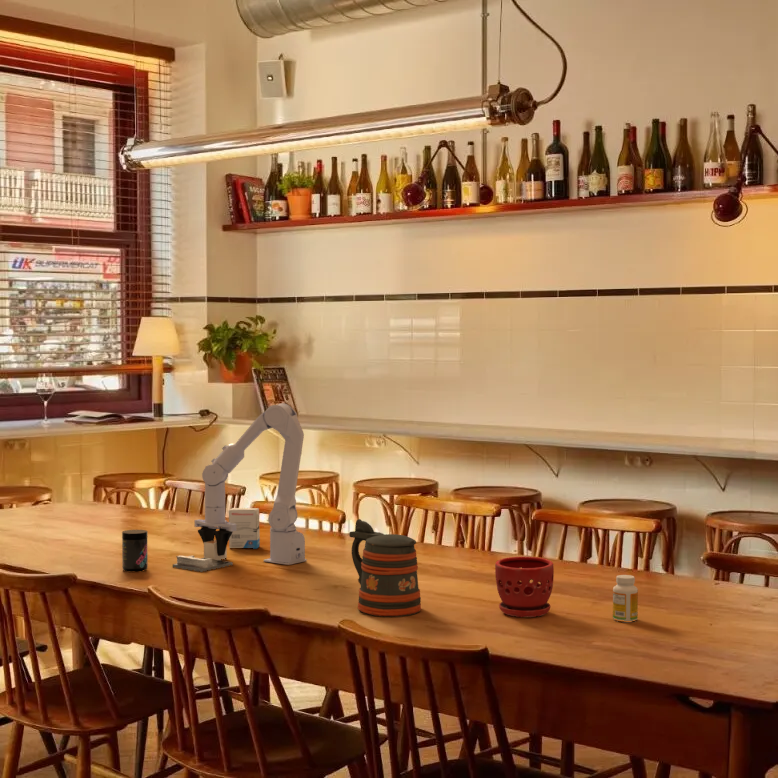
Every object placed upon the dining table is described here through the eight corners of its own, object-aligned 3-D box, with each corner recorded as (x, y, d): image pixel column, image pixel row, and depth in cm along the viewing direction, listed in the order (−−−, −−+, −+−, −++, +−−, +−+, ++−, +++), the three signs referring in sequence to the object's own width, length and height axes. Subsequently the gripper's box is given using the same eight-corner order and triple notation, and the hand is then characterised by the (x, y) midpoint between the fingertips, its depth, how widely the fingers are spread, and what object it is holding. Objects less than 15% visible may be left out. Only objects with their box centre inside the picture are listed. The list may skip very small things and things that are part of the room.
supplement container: (133, 573, 312) (132, 534, 312) (116, 570, 317) (116, 531, 316) (153, 569, 318) (152, 531, 317) (136, 566, 322) (136, 528, 322)
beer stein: (329, 609, 271) (329, 522, 270) (368, 598, 283) (368, 515, 282) (395, 620, 260) (396, 530, 259) (433, 608, 272) (433, 522, 271)
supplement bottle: (634, 617, 263) (634, 574, 263) (640, 622, 258) (640, 578, 258) (610, 617, 263) (610, 574, 263) (615, 622, 258) (616, 578, 258)
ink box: (260, 546, 354) (260, 507, 354) (256, 549, 349) (256, 509, 349) (232, 546, 355) (232, 507, 354) (228, 548, 350) (228, 509, 350)
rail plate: (232, 565, 324) (232, 554, 324) (201, 571, 314) (201, 561, 314) (203, 560, 331) (203, 550, 330) (172, 567, 321) (172, 556, 321)
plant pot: (490, 607, 273) (491, 556, 272) (546, 607, 273) (547, 555, 273) (500, 621, 260) (500, 567, 259) (558, 620, 260) (559, 566, 260)
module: (226, 558, 334) (226, 540, 333) (214, 561, 330) (214, 543, 329) (216, 557, 336) (216, 539, 336) (203, 559, 332) (203, 541, 332)
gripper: (243, 507, 331) (243, 555, 332) (206, 502, 340) (206, 549, 340) (226, 509, 326) (226, 558, 326) (189, 505, 334) (189, 553, 335)
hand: (215, 554), depth 333 cm, fingers closed on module, 4 cm apart
